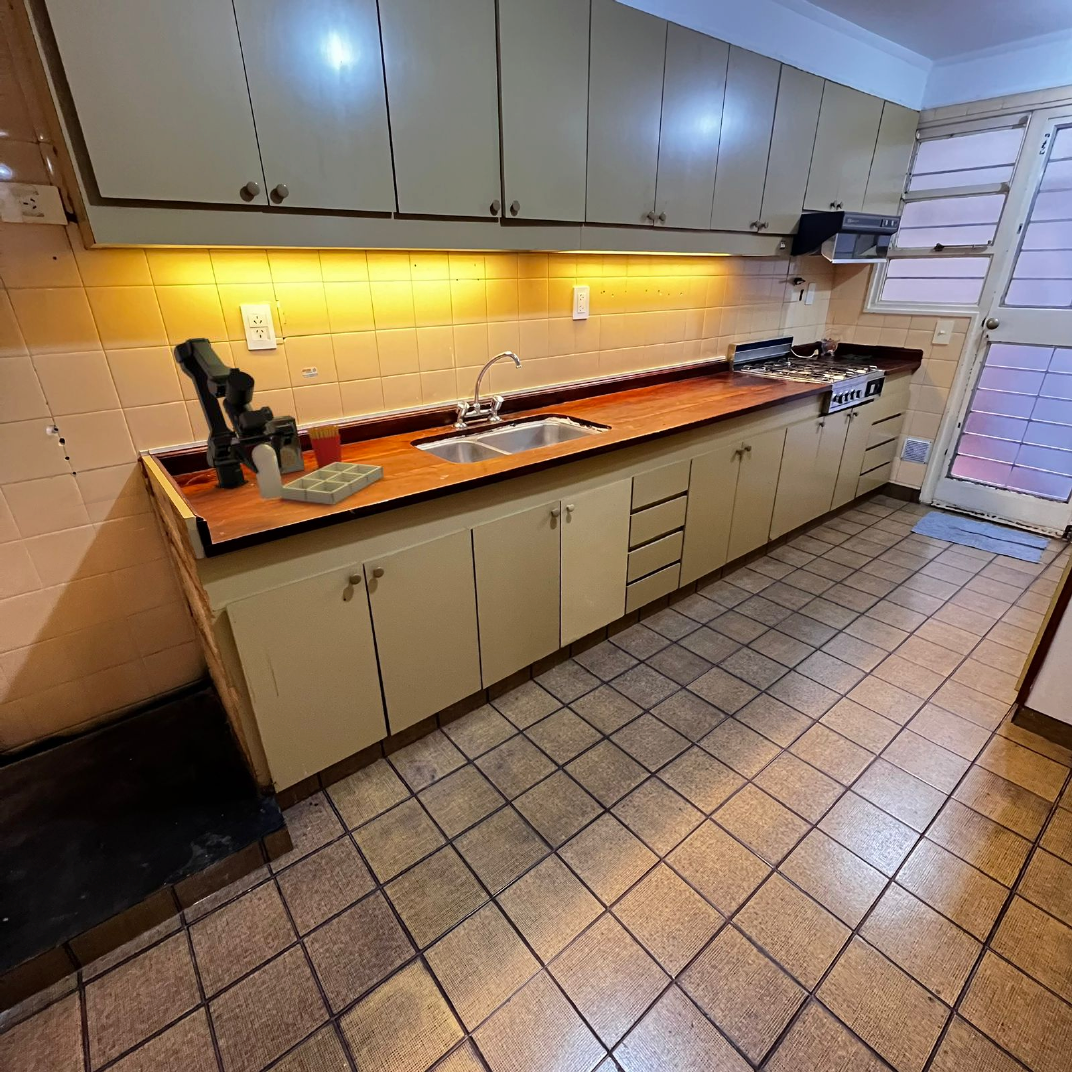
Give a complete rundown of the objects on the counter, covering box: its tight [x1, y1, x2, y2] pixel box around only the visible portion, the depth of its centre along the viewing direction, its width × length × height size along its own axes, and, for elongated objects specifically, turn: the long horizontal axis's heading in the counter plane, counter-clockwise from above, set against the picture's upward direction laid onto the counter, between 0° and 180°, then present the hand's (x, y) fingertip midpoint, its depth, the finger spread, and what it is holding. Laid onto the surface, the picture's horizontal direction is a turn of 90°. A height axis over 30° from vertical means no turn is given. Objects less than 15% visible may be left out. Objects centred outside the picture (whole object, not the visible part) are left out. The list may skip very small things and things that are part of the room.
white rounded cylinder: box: [251, 443, 284, 500], centre depth 135 cm, size 5×5×13 cm
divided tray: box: [280, 461, 384, 506], centre depth 159 cm, size 16×24×3 cm
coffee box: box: [263, 415, 306, 475], centre depth 171 cm, size 9×6×16 cm
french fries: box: [306, 424, 343, 470], centre depth 175 cm, size 9×4×13 cm, turn 121°
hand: (269, 470), depth 134 cm, fingers closed on white rounded cylinder, 5 cm apart
